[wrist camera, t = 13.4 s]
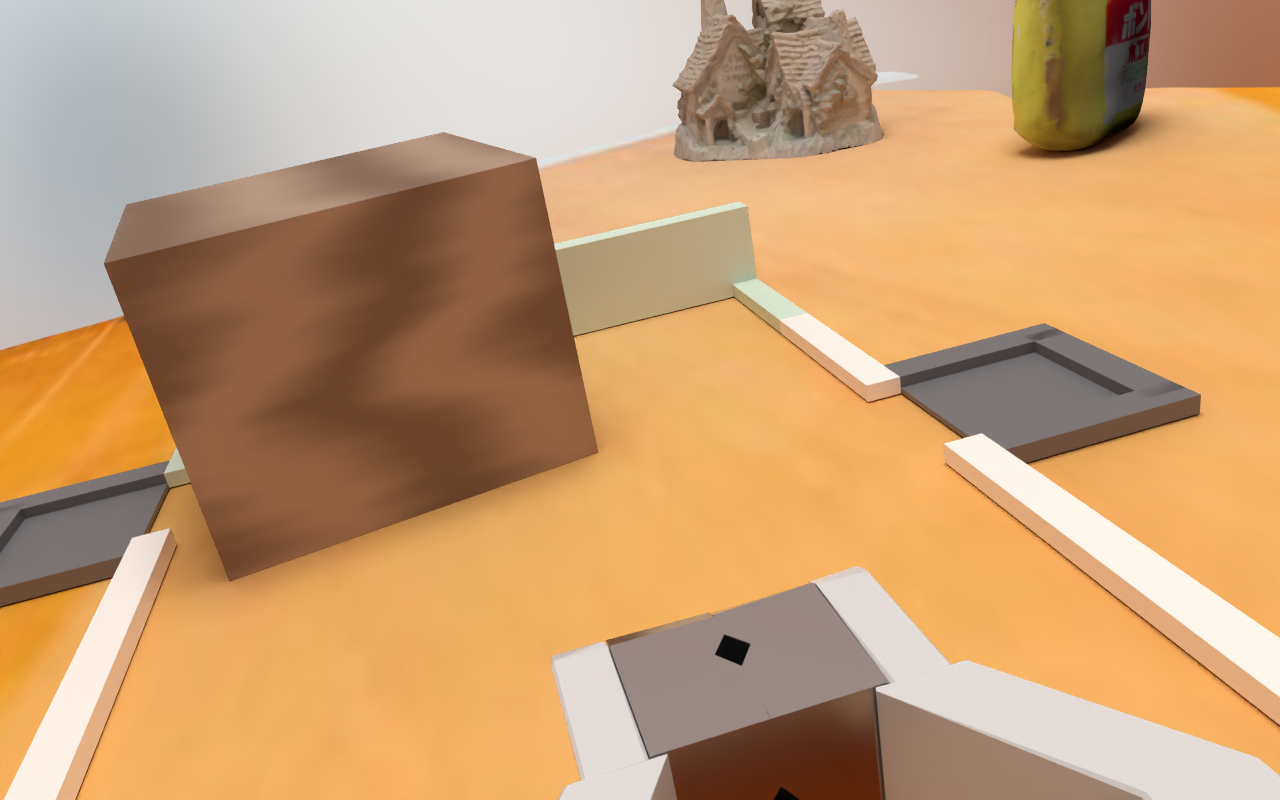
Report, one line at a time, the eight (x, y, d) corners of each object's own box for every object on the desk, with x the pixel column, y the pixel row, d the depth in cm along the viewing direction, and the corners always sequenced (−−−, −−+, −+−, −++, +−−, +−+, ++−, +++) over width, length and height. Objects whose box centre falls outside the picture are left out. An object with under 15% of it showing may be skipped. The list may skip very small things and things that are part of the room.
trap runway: (-689, 1418, 13) (-927, 1244, 12) (53, 453, 42) (14, 367, 41) (1624, 617, 19) (1673, 429, 17) (870, 255, 48) (863, 173, 47)
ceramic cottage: (670, 145, 88) (649, -39, 81) (855, 119, 87) (849, -68, 81) (683, 190, 74) (659, -27, 67) (903, 160, 74) (901, -62, 67)
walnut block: (230, 585, 30) (103, 263, 26) (218, 448, 40) (126, 204, 36) (598, 455, 33) (535, 158, 29) (499, 361, 44) (443, 132, 40)
